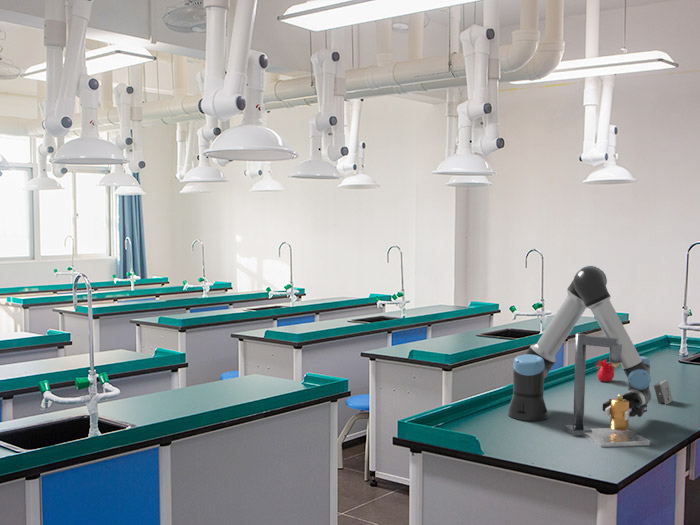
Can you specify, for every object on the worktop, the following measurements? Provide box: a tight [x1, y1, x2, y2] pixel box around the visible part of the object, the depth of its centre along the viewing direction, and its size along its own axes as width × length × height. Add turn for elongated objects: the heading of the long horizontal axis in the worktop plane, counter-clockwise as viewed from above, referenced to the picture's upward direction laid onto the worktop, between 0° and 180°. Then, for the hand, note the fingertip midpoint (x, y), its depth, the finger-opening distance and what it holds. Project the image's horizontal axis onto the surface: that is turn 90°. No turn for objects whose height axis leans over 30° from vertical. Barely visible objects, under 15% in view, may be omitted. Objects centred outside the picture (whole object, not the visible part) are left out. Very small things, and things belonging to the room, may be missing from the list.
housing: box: [609, 394, 630, 431], centre depth 246 cm, size 6×6×12 cm
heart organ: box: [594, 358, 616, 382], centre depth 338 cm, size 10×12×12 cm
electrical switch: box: [653, 379, 674, 405], centre depth 297 cm, size 9×5×9 cm, turn 141°
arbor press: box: [564, 333, 651, 448], centre depth 244 cm, size 22×20×36 cm
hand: (615, 414), depth 242 cm, fingers closed on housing, 6 cm apart
